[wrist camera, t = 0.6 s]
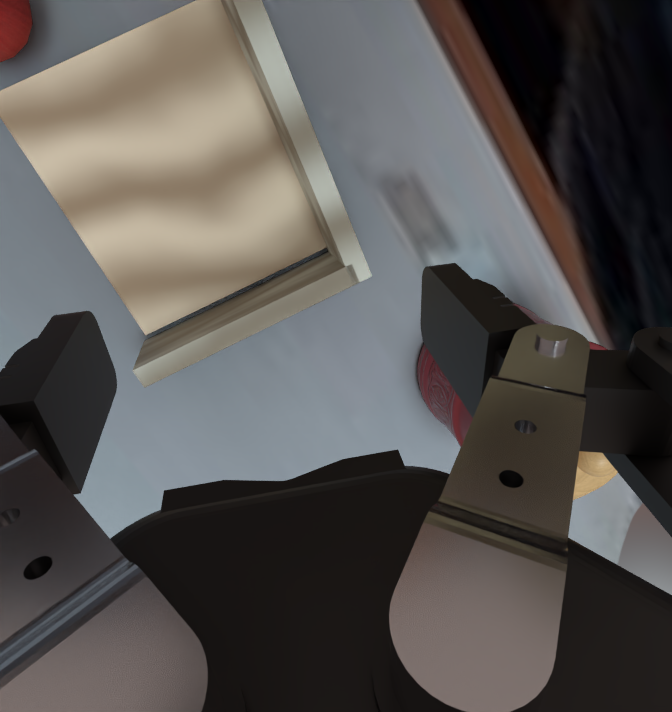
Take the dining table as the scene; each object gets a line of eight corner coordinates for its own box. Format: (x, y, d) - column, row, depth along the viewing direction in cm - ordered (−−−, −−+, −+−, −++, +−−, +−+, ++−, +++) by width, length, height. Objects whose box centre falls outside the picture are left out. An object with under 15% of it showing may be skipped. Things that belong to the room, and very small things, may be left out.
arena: (-28, 84, 31) (-81, 69, 25) (229, -34, 31) (232, -74, 26) (154, 356, 40) (144, 387, 34) (351, 260, 40) (372, 276, 35)
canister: (386, 383, 46) (476, 506, 30) (473, 268, 43) (622, 335, 27) (479, 440, 51) (599, 571, 35) (562, 340, 48) (732, 432, 32)
